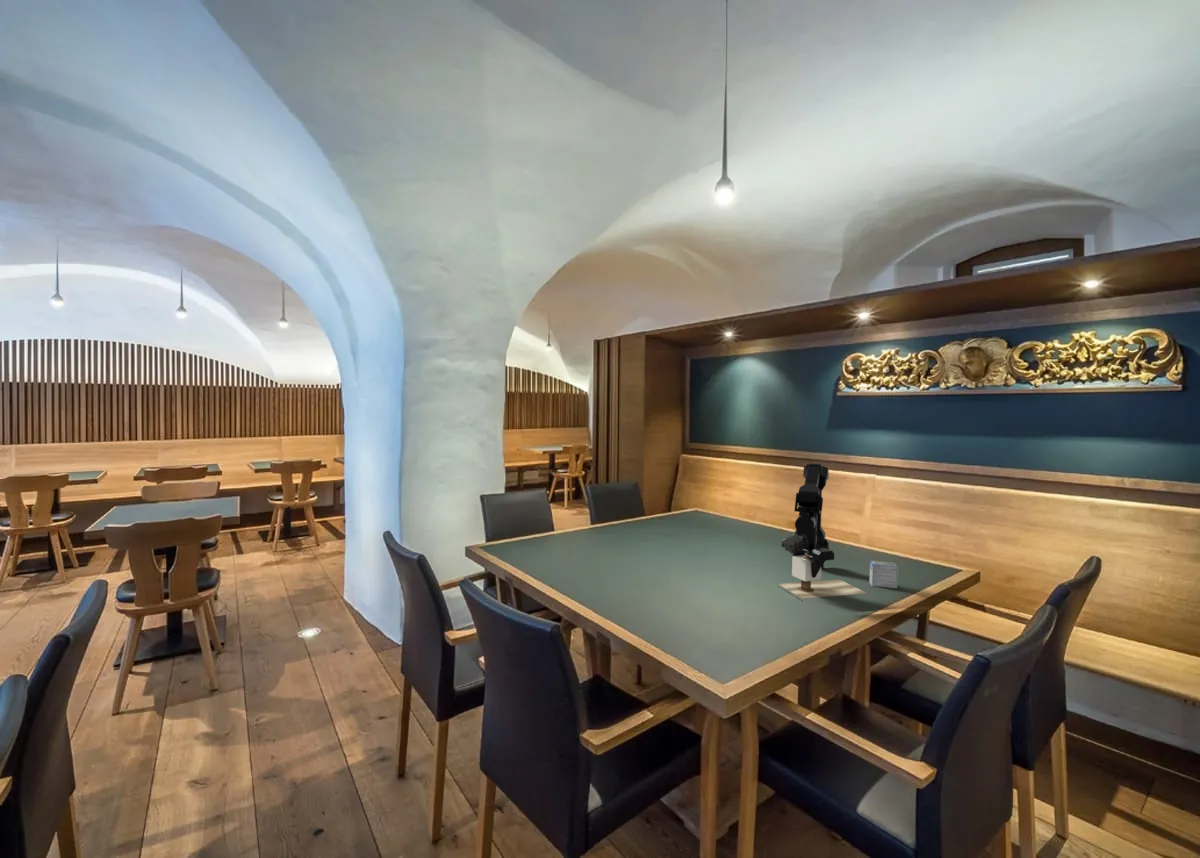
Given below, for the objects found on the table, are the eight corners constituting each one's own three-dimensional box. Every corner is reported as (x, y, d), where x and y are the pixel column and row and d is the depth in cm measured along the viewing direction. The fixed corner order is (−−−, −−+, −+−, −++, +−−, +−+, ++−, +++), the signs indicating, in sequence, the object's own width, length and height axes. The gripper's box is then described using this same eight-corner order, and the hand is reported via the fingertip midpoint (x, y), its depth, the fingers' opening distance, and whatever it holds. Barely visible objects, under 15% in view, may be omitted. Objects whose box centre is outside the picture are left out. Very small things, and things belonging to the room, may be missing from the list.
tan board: (778, 586, 186) (778, 573, 186) (839, 582, 192) (839, 569, 192) (801, 601, 173) (802, 587, 173) (867, 596, 178) (867, 582, 178)
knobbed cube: (791, 575, 183) (792, 554, 182) (807, 573, 185) (807, 552, 185) (805, 581, 177) (805, 559, 176) (820, 579, 179) (821, 558, 179)
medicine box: (894, 587, 188) (895, 562, 187) (897, 591, 183) (898, 566, 183) (868, 584, 190) (869, 560, 189) (871, 589, 185) (872, 564, 185)
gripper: (769, 523, 186) (768, 568, 187) (808, 536, 168) (806, 586, 169) (795, 521, 190) (794, 565, 191) (836, 533, 172) (834, 582, 173)
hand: (806, 574), depth 181 cm, fingers closed on knobbed cube, 6 cm apart
